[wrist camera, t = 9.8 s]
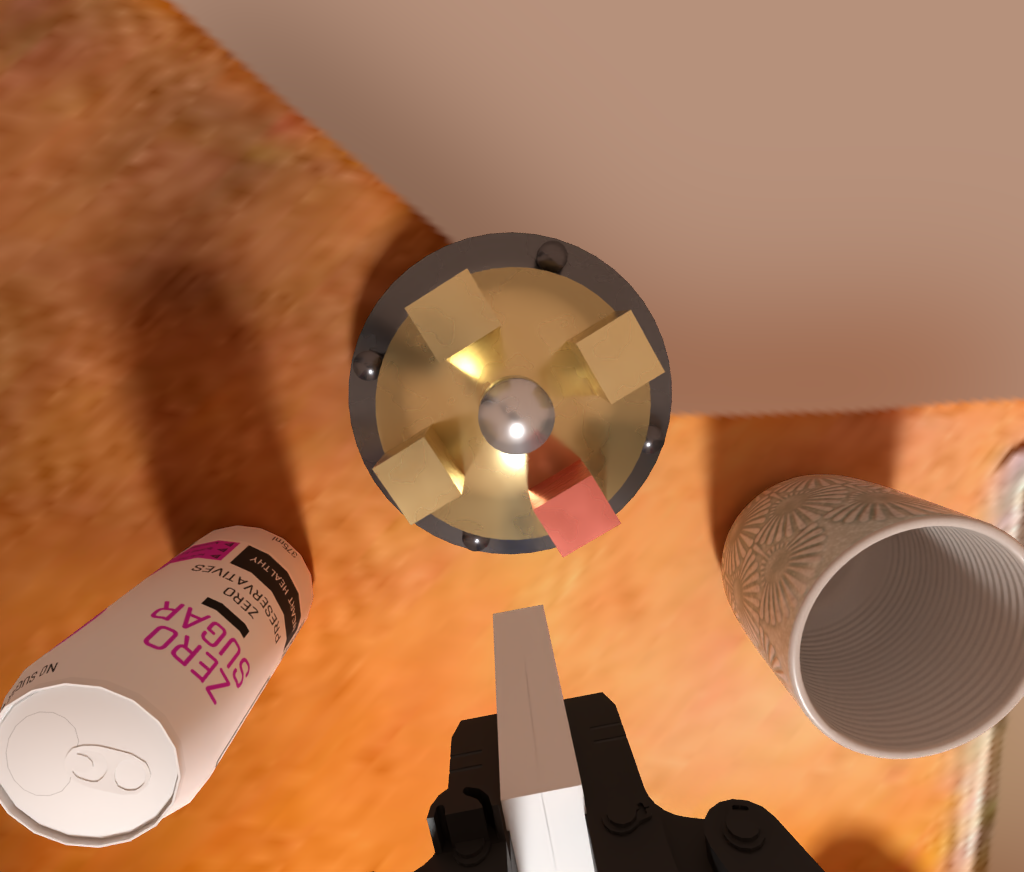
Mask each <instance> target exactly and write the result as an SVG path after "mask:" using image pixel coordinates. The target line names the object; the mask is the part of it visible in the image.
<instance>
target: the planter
mask: <svg viewBox="0 0 1024 872" xmlns="http://www.w3.org/2000/svg"><path fill="white" fill-rule="evenodd" d="M722 580H723V585H724V589H725V592H726V595H727V598H728V601H729V604H730V606H731V608H732V610H733V612H734V614H735V616H736V618H737V619H738V621H739V623H740V624H741V626H742V628H743V629H744V631H745V632H746V634H747V636H748V637H749V638H750V640H751V641H752V643H753V644H754V646H755V647H756V649H757V650H758V652H759V653H760V654H761V656H762V657H763V658H764V660H765V661H766V662H767V664H768V665H769V666H770V668H771V669H772V670H773V672H774V673H775V674H776V676H777V677H778V679H779V680H780V681H781V682H782V684H783V685H784V686H785V688H786V689H787V690H788V692H789V693H790V694H791V696H792V697H793V698H794V700H795V701H796V702H797V704H798V705H799V706H800V708H801V709H802V710H803V712H804V713H805V715H806V716H807V717H808V718H809V719H810V721H811V722H812V723H813V724H814V725H815V726H816V727H817V728H818V729H819V730H820V731H821V732H822V733H823V734H825V735H826V736H827V737H829V738H830V739H831V740H833V741H835V742H836V743H838V744H840V745H841V746H843V747H846V748H848V749H850V750H852V751H855V752H858V753H861V754H865V755H869V756H874V757H878V758H888V759H910V758H919V757H925V756H931V755H934V754H938V753H942V752H945V751H948V750H950V749H953V748H956V747H958V746H960V745H962V744H965V743H967V742H969V741H971V740H972V739H974V738H976V737H978V736H979V735H981V734H983V733H984V732H985V731H987V730H988V729H990V728H991V727H993V726H994V725H995V724H996V723H998V722H999V721H1000V720H1001V719H1002V718H1004V717H1005V716H1006V715H1007V714H1008V713H1009V712H1010V711H1011V710H1012V709H1013V708H1014V707H1015V705H1016V704H1017V703H1018V702H1019V701H1020V700H1021V699H1022V697H1023V696H1024V546H1022V545H1021V544H1020V543H1019V542H1018V541H1017V540H1016V539H1015V538H1013V537H1012V536H1010V535H1009V534H1007V533H1006V532H1005V531H1003V530H1001V529H999V528H997V527H995V526H994V525H992V524H989V523H986V522H984V521H981V520H979V519H975V518H972V517H970V516H967V515H964V514H962V513H959V512H956V511H953V510H951V509H948V508H945V507H942V506H940V505H937V504H934V503H931V502H929V501H926V500H923V499H920V498H917V497H915V496H912V495H909V494H906V493H903V492H900V491H898V490H895V489H891V488H888V487H885V486H882V485H879V484H876V483H872V482H868V481H864V480H860V479H856V478H852V477H847V476H840V475H829V474H815V475H805V476H799V477H796V478H792V479H788V480H786V481H783V482H780V483H778V484H776V485H774V486H772V487H770V488H768V489H767V490H765V491H763V492H762V493H761V494H759V495H758V496H757V497H755V498H754V499H753V500H752V501H751V502H750V503H749V504H748V505H747V506H746V507H745V508H744V509H743V510H742V511H741V513H740V514H739V515H738V517H737V518H736V520H735V521H734V523H733V525H732V527H731V529H730V531H729V533H728V535H727V538H726V541H725V544H724V549H723V554H722Z"/></svg>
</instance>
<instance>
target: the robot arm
mask: <svg viewBox="0 0 1024 872" xmlns="http://www.w3.org/2000/svg"><path fill="white" fill-rule="evenodd" d="M493 628H494V652H495V676H496V700H497V714H493V715H488V716H483V717H478V718H472V719H467V720H462V721H461V722H460V724H459V725H458V727H457V729H456V731H455V733H454V734H453V736H452V741H451V755H450V756H451V759H450V774H449V784H448V789H447V790H446V791H444V792H443V793H441V794H440V795H439V796H438V797H437V799H436V800H435V801H434V803H433V804H432V805H431V807H430V810H429V813H428V816H427V821H428V825H429V829H430V833H431V837H432V841H433V845H434V849H435V854H434V855H433V857H432V858H431V859H430V860H429V861H428V862H427V863H425V864H424V865H423V866H422V867H420V868H419V869H417V870H416V871H414V872H824V870H823V869H822V868H821V867H820V866H819V865H818V864H817V863H816V862H815V861H814V859H813V858H812V857H811V856H810V855H809V854H808V853H807V852H806V851H805V850H804V848H803V847H802V846H801V845H800V844H799V843H798V842H797V841H796V840H795V839H794V837H793V836H792V835H791V834H790V833H789V832H788V831H787V830H786V829H785V828H784V826H783V825H782V824H781V823H780V822H779V821H778V820H777V819H776V818H775V817H774V816H773V815H772V814H771V813H769V812H768V811H767V810H766V809H765V808H763V807H762V806H759V805H757V804H755V803H752V802H750V801H746V800H736V799H731V800H727V801H723V802H719V803H718V804H716V805H715V806H714V807H712V808H711V809H710V810H709V811H708V813H707V815H706V817H705V819H698V818H689V817H683V816H678V815H674V814H672V813H669V812H667V811H665V810H663V809H662V808H660V807H659V806H658V805H656V804H655V803H654V802H653V801H652V800H651V798H650V797H649V796H648V794H647V792H646V790H645V788H644V786H643V783H642V780H641V777H640V774H639V771H638V768H637V766H636V763H635V760H634V757H633V754H632V751H631V748H630V745H629V743H628V740H627V738H626V734H625V731H624V728H623V725H622V723H621V720H620V717H619V714H618V711H617V708H616V705H615V704H614V703H613V702H612V701H611V700H610V699H609V698H608V697H607V696H606V695H605V694H603V693H602V692H601V693H596V694H590V695H585V696H580V697H575V698H569V699H564V700H563V696H562V691H561V686H560V682H559V677H558V673H557V668H556V663H555V659H554V654H553V649H552V645H551V640H550V636H549V631H548V626H547V622H546V617H545V612H544V608H543V605H538V606H533V607H528V608H522V609H517V610H512V611H506V612H501V613H496V614H493ZM373 872H374V871H373Z"/></svg>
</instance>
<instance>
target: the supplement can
mask: <svg viewBox="0 0 1024 872" xmlns="http://www.w3.org/2000/svg"><path fill="white" fill-rule="evenodd" d="M312 600H313V587H312V578H311V574H310V572H309V570H308V568H307V566H306V564H305V562H304V560H303V558H302V556H301V555H300V554H299V553H298V552H297V551H296V550H295V549H294V548H293V547H292V546H291V545H290V544H289V543H288V542H287V541H286V540H285V539H283V538H281V537H279V536H277V535H275V534H273V533H271V532H268V531H266V530H264V529H262V528H255V527H247V526H238V525H236V526H232V527H227V528H222V529H217V530H213V531H212V532H210V533H209V534H207V535H205V536H204V537H202V538H201V539H199V540H197V541H196V542H194V543H193V544H192V545H190V546H189V547H188V548H186V549H185V550H184V551H182V552H181V553H180V554H178V555H177V556H176V557H174V558H173V559H172V560H170V561H169V562H168V563H166V564H165V565H164V566H162V567H161V568H160V569H158V570H157V571H156V572H154V573H153V574H152V575H150V576H149V577H148V578H146V579H145V580H144V581H142V582H141V583H140V584H138V585H137V586H136V587H134V588H133V589H132V590H130V591H129V592H128V593H126V594H125V595H124V596H122V597H121V598H120V599H118V600H117V601H116V602H114V603H113V604H112V605H110V606H109V607H108V608H106V609H105V610H104V611H102V612H101V613H100V614H98V615H97V616H96V617H94V618H93V619H92V620H90V621H89V622H88V623H86V624H85V625H84V626H82V627H81V628H80V629H78V630H77V631H76V632H74V633H73V634H72V635H70V636H69V637H68V638H66V639H65V640H64V641H62V642H61V643H60V644H58V645H57V646H56V647H54V648H53V649H52V650H50V651H49V652H48V653H46V654H45V655H44V656H42V657H41V658H40V659H38V660H37V661H36V662H34V663H33V664H32V665H30V666H29V667H28V668H26V669H25V670H24V671H23V673H22V674H21V676H20V677H19V678H18V680H17V681H16V683H15V684H14V685H13V687H12V688H11V690H10V691H9V692H8V694H7V695H6V697H5V700H4V702H3V705H2V708H1V710H0V803H1V805H2V806H3V808H4V809H5V810H6V812H7V813H8V814H9V815H10V816H12V817H13V818H14V819H16V820H17V821H18V822H20V823H21V824H22V825H24V826H25V827H27V828H28V829H29V830H31V831H32V832H33V833H35V834H38V835H40V836H43V837H46V838H49V839H51V840H54V841H57V842H59V843H62V844H65V845H73V846H85V847H98V848H100V847H104V846H109V845H114V844H119V843H123V842H128V841H131V840H133V839H135V838H136V837H138V836H140V835H142V834H143V833H145V832H147V831H148V830H150V829H152V828H154V827H155V826H157V824H158V823H159V822H160V821H161V819H163V818H164V817H166V816H168V815H169V814H171V813H173V812H174V811H176V810H178V809H180V808H181V807H183V806H185V805H186V804H188V803H190V802H191V800H192V799H193V798H194V797H195V795H196V794H197V793H198V792H199V790H200V789H201V788H202V786H203V785H204V784H205V783H206V781H207V780H208V779H209V778H210V776H211V774H212V773H213V771H214V769H215V768H216V766H217V764H218V763H219V761H220V760H221V758H222V756H223V755H224V753H225V751H226V750H227V748H228V746H229V745H230V743H231V742H232V740H233V738H234V737H235V735H236V733H237V732H238V730H239V728H240V727H241V725H242V724H243V722H244V720H245V719H246V717H247V715H248V714H249V712H250V710H251V709H252V707H253V706H254V704H255V702H256V701H257V699H258V697H259V696H260V694H261V692H262V691H263V689H264V688H265V686H266V684H267V683H268V681H269V679H270V678H271V676H272V674H273V673H274V671H275V670H276V668H277V666H278V665H279V663H280V661H281V660H282V658H283V656H284V655H285V653H286V652H287V650H288V648H289V647H290V645H291V643H292V642H293V640H294V638H295V637H296V635H297V634H298V632H299V630H300V629H301V627H302V625H303V624H304V622H305V620H306V619H307V617H308V614H309V611H310V607H311V604H312Z"/></svg>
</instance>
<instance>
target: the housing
mask: <svg viewBox="0 0 1024 872" xmlns="http://www.w3.org/2000/svg"><path fill="white" fill-rule="evenodd" d="M504 267H524V268H534V269H539V270H545V271H549V272H552V273H555V274H558V275H561V276H564V277H567V278H569V279H571V280H573V281H575V282H577V283H579V284H581V285H583V286H585V287H586V288H588V289H589V290H591V291H592V292H594V293H595V294H597V295H598V296H599V297H600V298H602V299H603V300H604V301H605V302H606V303H607V304H608V305H609V306H611V307H612V308H613V310H614V311H622V310H631V311H632V313H633V315H634V316H635V318H636V320H637V322H638V324H639V325H640V327H641V329H642V331H643V333H644V335H645V336H646V338H647V340H648V342H649V344H650V345H651V347H652V349H653V351H654V353H655V355H656V356H657V358H658V360H659V362H660V364H661V365H662V367H663V369H664V371H665V372H664V373H662V374H661V375H659V376H658V377H656V378H654V379H653V380H651V381H649V385H650V400H651V408H650V419H649V426H648V431H647V435H646V440H645V443H644V446H643V448H642V451H641V454H640V457H639V459H638V461H637V463H636V464H635V466H634V468H633V470H632V472H631V474H630V475H629V477H628V478H627V480H626V481H625V483H624V484H623V485H622V487H621V488H620V489H619V490H618V491H617V492H616V494H615V495H614V496H613V497H612V498H611V499H610V500H609V501H608V503H609V504H610V506H611V508H612V509H613V511H614V513H615V514H617V513H618V512H619V511H620V510H621V509H622V508H623V507H624V506H625V505H626V504H627V503H628V502H629V501H630V500H631V499H632V498H633V497H634V496H635V494H636V493H637V491H638V490H639V489H640V487H641V486H642V485H643V483H644V482H645V480H646V479H647V477H648V476H649V474H650V472H651V470H652V468H653V467H654V465H655V463H656V461H657V459H658V456H659V454H660V451H661V448H662V447H663V445H664V442H665V436H666V432H667V429H668V425H669V419H670V411H671V403H672V389H671V388H672V387H671V385H672V382H671V374H670V367H669V360H668V356H667V352H666V349H665V346H664V342H663V339H662V336H661V334H660V332H659V329H658V327H657V325H656V322H655V320H654V318H653V317H652V315H651V313H650V312H649V310H648V308H647V307H646V305H645V303H644V302H643V300H642V299H641V298H640V297H639V295H638V294H637V293H636V292H635V290H634V289H633V288H632V286H630V284H629V283H628V282H627V281H626V280H625V279H624V278H623V277H621V276H620V275H619V274H618V273H617V272H616V271H615V270H614V269H613V268H611V267H610V266H609V265H607V264H606V263H604V262H603V261H601V260H600V259H598V258H597V257H596V256H594V255H592V254H590V253H588V252H586V251H585V250H583V249H581V248H579V247H577V246H574V245H572V244H569V243H566V242H563V241H561V240H558V239H555V238H550V237H545V236H541V235H536V234H526V233H513V232H511V233H496V234H486V235H482V236H477V237H472V238H467V239H464V240H462V241H459V242H456V243H453V244H450V245H447V246H445V247H443V248H441V249H439V250H437V251H435V252H433V253H431V254H429V255H428V256H426V257H425V258H423V259H422V260H420V261H419V262H417V263H416V264H415V265H413V266H412V267H410V268H409V269H408V270H407V271H406V272H404V273H403V274H402V275H401V276H400V277H399V278H398V279H397V280H396V281H395V282H394V283H393V284H392V285H391V286H390V287H389V288H388V290H387V291H386V292H385V293H384V294H383V296H382V297H381V298H380V299H379V301H378V302H377V304H376V305H375V307H374V309H373V310H372V312H371V314H370V315H369V317H368V318H367V320H366V323H365V325H364V327H363V329H362V332H361V334H360V336H359V338H358V341H357V345H356V348H355V352H354V355H353V359H352V364H351V371H350V378H349V410H350V418H351V425H352V429H353V433H354V437H355V440H356V444H357V447H358V449H359V452H360V454H361V457H362V459H363V462H364V464H365V466H366V467H367V469H368V471H369V473H370V475H371V476H372V478H373V480H374V482H375V483H376V484H377V486H378V487H379V488H380V490H381V491H382V492H383V494H384V495H385V496H386V498H387V499H388V500H389V501H390V502H391V503H392V504H393V505H394V506H395V507H396V508H397V509H398V510H399V511H400V512H401V513H402V511H401V510H400V509H399V507H398V506H397V504H396V503H395V501H394V500H393V498H392V497H391V496H390V494H389V493H388V491H387V490H386V488H385V487H384V485H383V484H382V483H381V481H380V480H379V478H378V477H377V475H376V474H375V472H374V471H373V469H372V468H373V467H374V466H375V465H376V463H377V462H378V461H379V460H380V458H381V457H382V456H383V454H384V450H383V448H382V444H381V440H380V437H379V433H378V427H377V420H376V389H377V381H378V376H379V372H380V368H381V365H382V361H383V358H384V356H385V354H386V351H387V349H388V346H389V344H390V342H391V340H392V339H393V337H394V335H395V334H396V332H397V330H398V328H399V327H400V326H401V324H402V323H403V322H404V321H405V319H406V318H407V317H408V316H409V315H408V313H407V311H406V310H405V307H407V306H409V305H410V304H412V303H413V302H415V301H416V300H418V299H420V298H421V297H423V296H424V295H426V294H427V293H429V292H431V291H432V290H434V289H435V288H437V287H438V286H440V285H442V284H443V283H445V282H446V281H448V280H449V279H451V278H453V277H454V276H456V275H457V274H459V273H460V272H462V271H464V270H465V269H468V270H469V272H470V274H472V273H475V272H479V271H484V270H488V269H493V268H504ZM478 422H479V427H480V430H481V433H482V434H483V436H484V438H485V439H486V441H487V442H488V443H489V444H490V445H491V446H492V447H494V448H495V449H497V450H499V451H501V452H503V453H506V454H511V455H522V454H526V453H529V452H532V451H534V450H536V449H537V448H539V447H540V446H541V445H543V444H544V443H545V442H546V440H547V439H548V438H549V436H550V434H551V432H552V430H553V427H554V422H555V411H554V406H553V403H552V401H551V399H550V397H549V396H548V394H547V393H546V392H545V391H544V389H543V388H542V387H541V386H540V385H539V384H538V383H537V382H535V381H534V380H532V379H530V378H528V377H525V376H520V375H509V376H505V377H502V378H500V379H498V380H496V381H494V382H493V383H492V384H491V385H489V387H488V388H487V389H486V390H485V392H484V393H483V395H482V397H481V400H480V404H479V413H478ZM402 514H403V513H402ZM403 515H404V514H403ZM415 524H416V525H417V526H419V527H421V528H422V529H424V530H426V531H427V532H429V533H431V534H432V535H434V536H436V537H438V538H440V539H443V540H445V541H447V542H449V543H452V544H454V545H458V546H461V547H464V548H468V549H469V550H472V551H482V552H488V553H498V554H520V553H532V552H537V551H542V550H547V549H552V548H555V547H556V546H555V544H554V542H553V541H552V539H551V538H550V536H549V535H546V536H542V537H538V538H531V539H522V540H500V539H493V538H487V537H482V536H478V535H474V534H471V533H467V532H465V531H462V530H460V529H457V528H455V527H453V526H450V525H449V524H447V523H445V522H444V521H442V520H440V519H438V518H437V517H435V516H434V515H432V514H429V515H427V516H426V517H424V518H422V519H421V520H419V521H417V522H416V523H415Z"/></svg>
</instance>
